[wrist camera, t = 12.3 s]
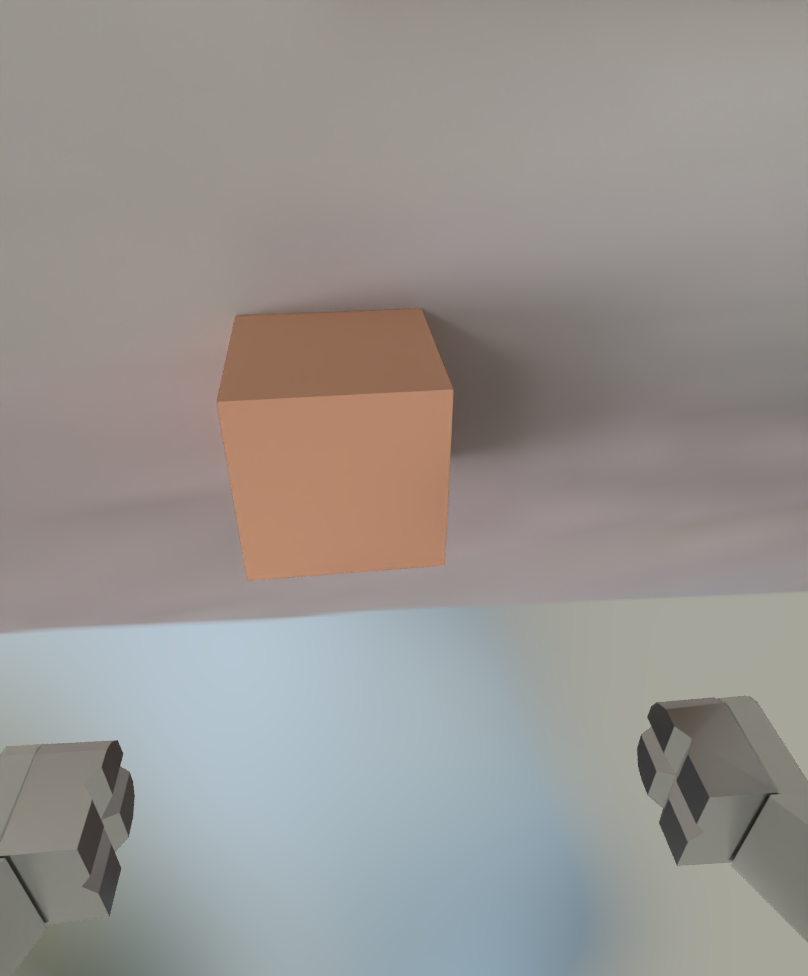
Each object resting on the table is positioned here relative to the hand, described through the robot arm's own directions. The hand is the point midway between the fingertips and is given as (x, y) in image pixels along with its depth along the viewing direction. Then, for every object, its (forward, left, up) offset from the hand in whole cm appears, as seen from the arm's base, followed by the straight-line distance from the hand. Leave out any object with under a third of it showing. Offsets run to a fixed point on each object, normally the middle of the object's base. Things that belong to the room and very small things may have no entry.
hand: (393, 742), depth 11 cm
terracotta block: (-1, 0, -12) cm, 12 cm away
